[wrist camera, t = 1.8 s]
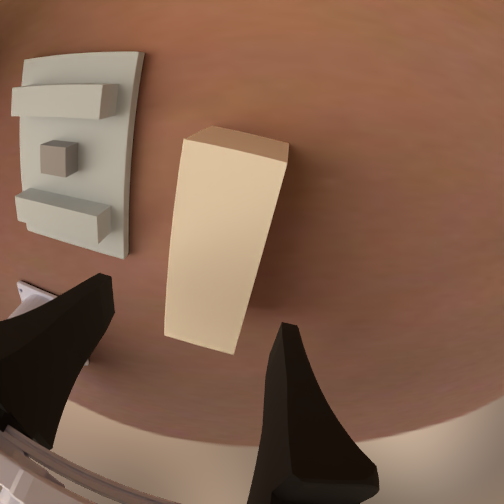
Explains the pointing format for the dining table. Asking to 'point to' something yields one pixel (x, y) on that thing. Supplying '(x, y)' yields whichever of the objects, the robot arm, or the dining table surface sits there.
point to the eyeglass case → (219, 232)
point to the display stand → (78, 147)
